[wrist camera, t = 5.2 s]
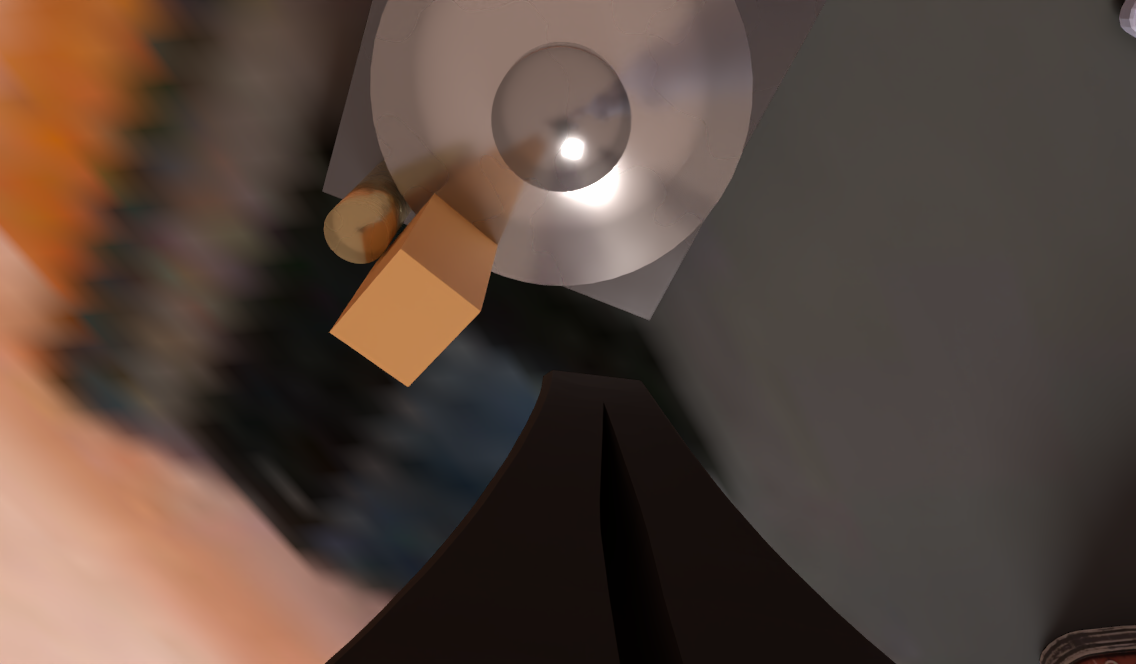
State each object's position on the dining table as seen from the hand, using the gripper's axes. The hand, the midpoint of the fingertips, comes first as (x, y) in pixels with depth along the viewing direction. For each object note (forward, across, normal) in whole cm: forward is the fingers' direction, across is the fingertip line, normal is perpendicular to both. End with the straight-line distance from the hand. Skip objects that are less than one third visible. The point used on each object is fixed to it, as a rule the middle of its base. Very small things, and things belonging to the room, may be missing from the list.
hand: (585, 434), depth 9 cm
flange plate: (+6, +1, -3) cm, 7 cm away
